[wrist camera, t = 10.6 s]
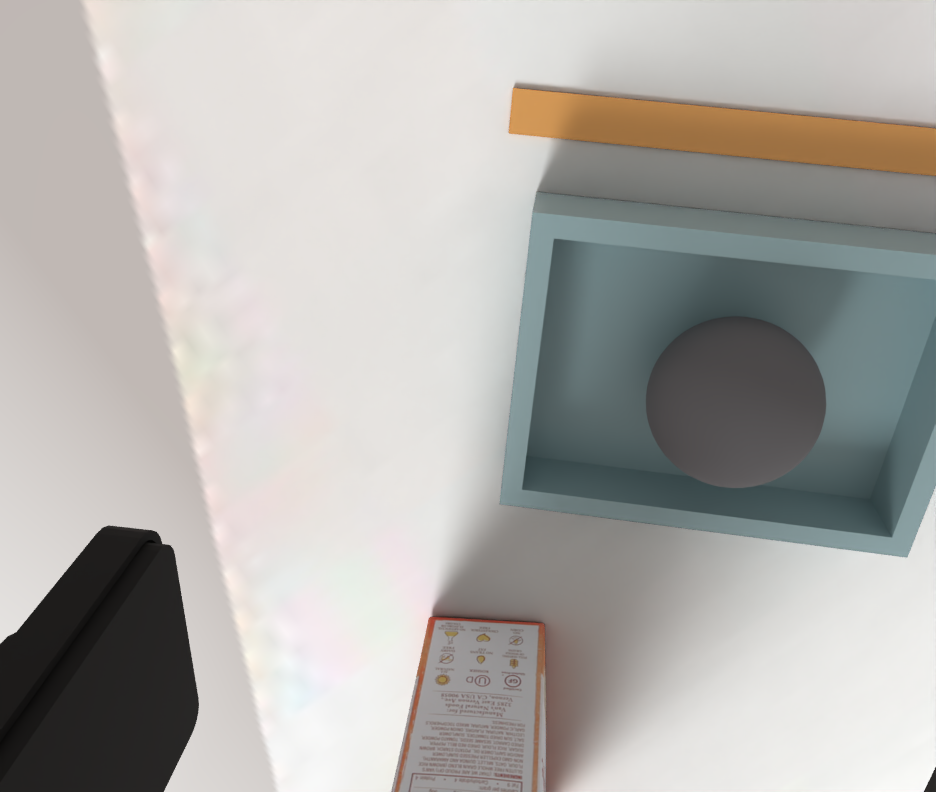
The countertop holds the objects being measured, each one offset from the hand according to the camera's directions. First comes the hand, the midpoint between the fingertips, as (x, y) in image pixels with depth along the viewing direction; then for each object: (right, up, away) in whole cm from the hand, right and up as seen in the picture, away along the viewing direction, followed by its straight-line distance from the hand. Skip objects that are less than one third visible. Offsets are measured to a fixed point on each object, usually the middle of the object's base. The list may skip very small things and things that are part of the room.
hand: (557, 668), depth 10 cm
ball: (+9, +4, +22) cm, 24 cm away
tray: (+9, +6, +22) cm, 24 cm away
